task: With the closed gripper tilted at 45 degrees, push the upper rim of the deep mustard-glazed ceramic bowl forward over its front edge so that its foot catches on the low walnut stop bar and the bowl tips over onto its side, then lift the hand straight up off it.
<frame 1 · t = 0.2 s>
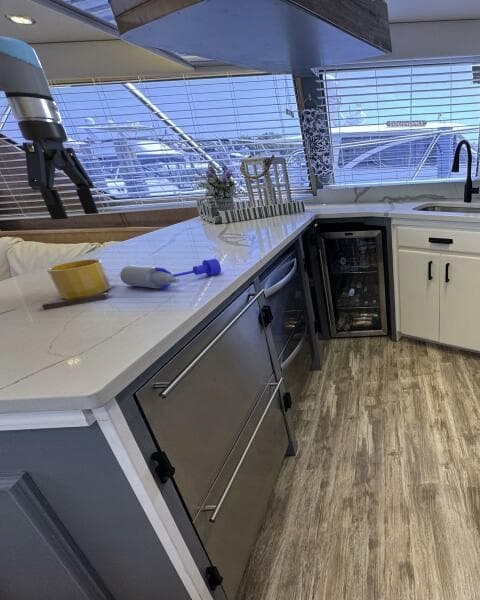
hand: (77, 216, 82), 20 cm above the worktop, tool pointing down, fingers open, 13 cm apart
bowl: (87, 293, 87), on the worktop
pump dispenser: (178, 282, 93), on the worktop
stop bar: (77, 302, 80), on the worktop
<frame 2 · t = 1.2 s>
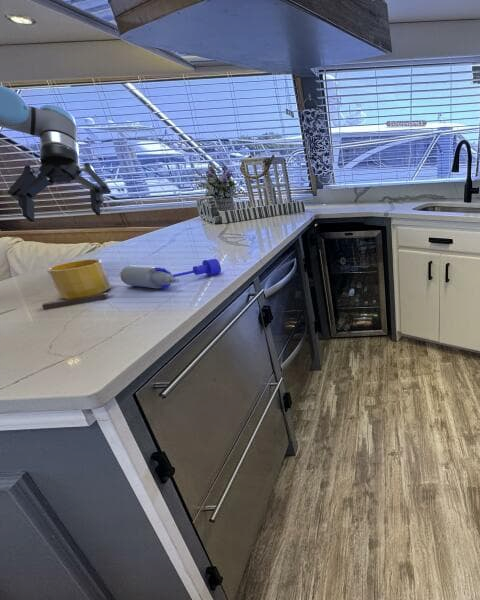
hand: (63, 215, 84), 20 cm above the worktop, tool tilted 45°, fingers open, 13 cm apart
nothing on the worktop moved.
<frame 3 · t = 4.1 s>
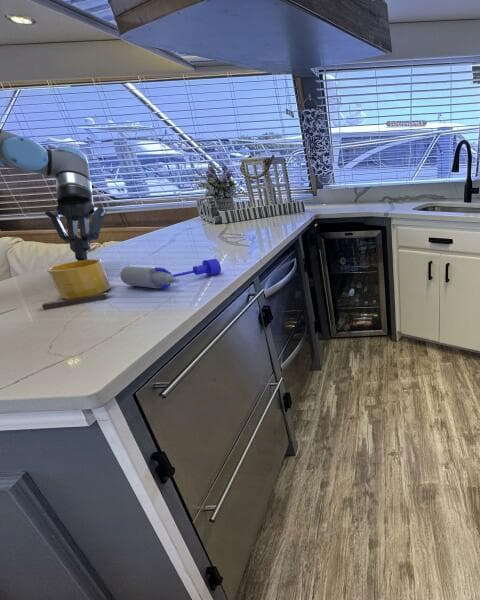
hand: (81, 260, 88), 8 cm above the worktop, tool tilted 45°, fingers closed
bowl: (87, 293, 87), on the worktop, touching gripper
everything else where it was.
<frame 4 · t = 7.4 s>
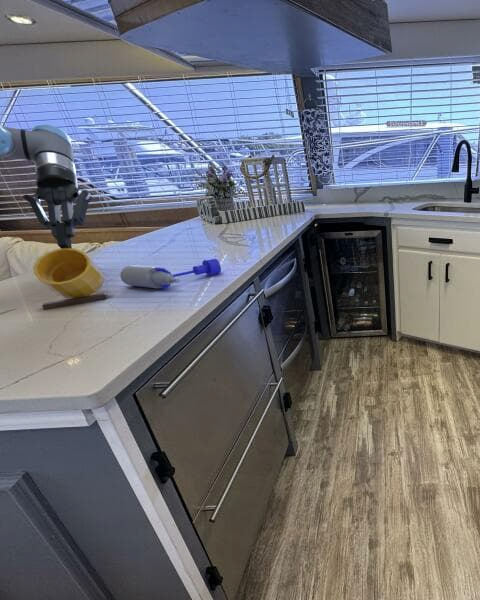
hand: (65, 247, 79), 13 cm above the worktop, tool tilted 45°, fingers closed
bowl: (80, 282, 83), point 4 cm above the worktop, tilted 42°, touching gripper, stop bar
everything else where it was.
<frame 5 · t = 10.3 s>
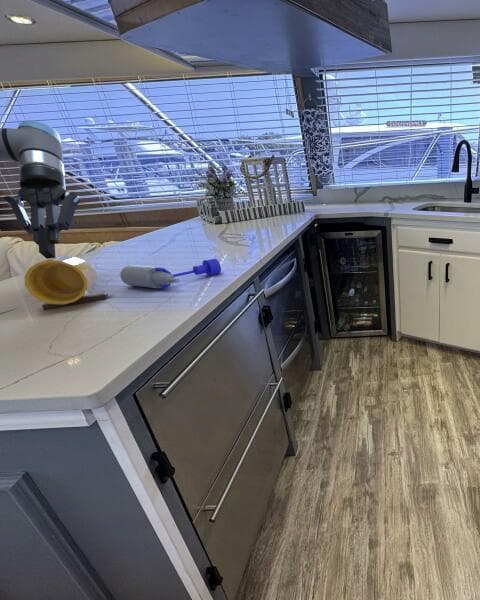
hand: (47, 254, 72), 13 cm above the worktop, tool tilted 45°, fingers closed
bowl: (70, 276, 80), point 6 cm above the worktop, tilted 84°, touching gripper, stop bar
everything else where it was.
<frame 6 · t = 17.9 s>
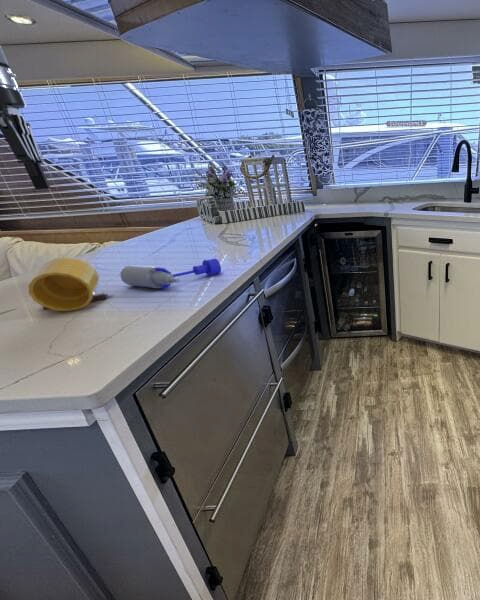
hand: (43, 188, 88), 26 cm above the worktop, tool pointing down, fingers closed
bowl: (71, 275, 79), point 7 cm above the worktop, tilted 103°, touching stop bar
everything else where it was.
at the end: bowl tilted 103°; bowl inside the target area (2.1 cm from its centre), point 6.8 cm above the worktop; the gripper is holding nothing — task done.
